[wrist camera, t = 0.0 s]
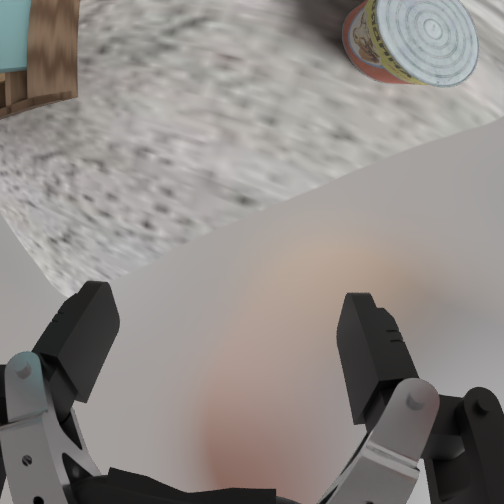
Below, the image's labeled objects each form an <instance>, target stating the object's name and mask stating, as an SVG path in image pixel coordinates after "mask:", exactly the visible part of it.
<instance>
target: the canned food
mask: <svg viewBox="0 0 504 504" xmlns="http://www.w3.org/2000/svg"><path fill="white" fill-rule="evenodd" d="M342 42H343V46H344V49H345V51H346V54H347V55H348V57H349V59H350V60H351V62H352V63H353V64H354V66H355V67H356V68H357V69H358V70H359V71H360V72H362V73H363V74H364V75H366V76H367V77H369V78H371V79H373V80H375V81H378V82H381V83H385V84H418V85H431V86H436V87H453V86H457V85H459V84H461V83H463V82H465V81H466V80H467V79H468V78H469V77H470V76H471V75H472V73H473V72H474V70H475V68H476V65H477V62H478V58H479V39H478V34H477V30H476V27H475V24H474V22H473V20H472V18H471V16H470V14H469V12H468V11H467V9H466V8H465V6H464V5H463V4H462V3H461V1H460V0H366V1H364V2H363V3H362V4H360V5H359V6H357V7H355V8H354V9H353V10H351V11H350V12H349V14H348V15H347V16H346V18H345V20H344V23H343V26H342Z"/></svg>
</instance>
